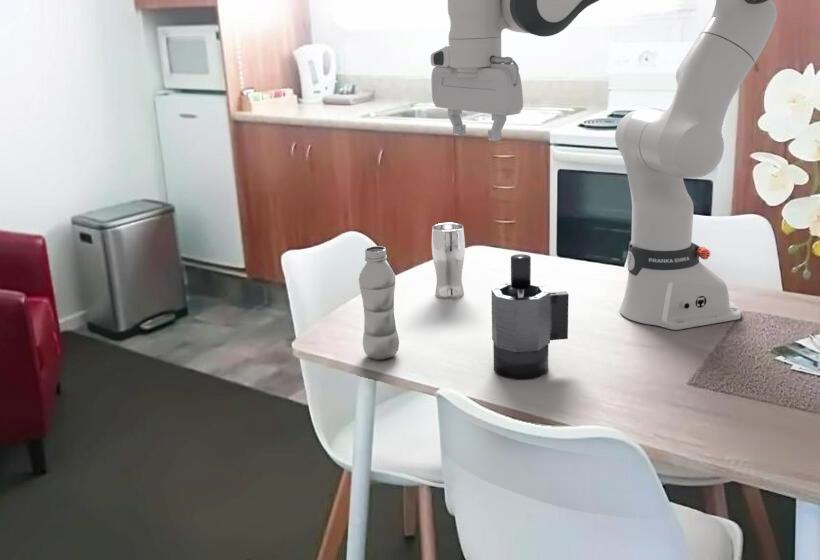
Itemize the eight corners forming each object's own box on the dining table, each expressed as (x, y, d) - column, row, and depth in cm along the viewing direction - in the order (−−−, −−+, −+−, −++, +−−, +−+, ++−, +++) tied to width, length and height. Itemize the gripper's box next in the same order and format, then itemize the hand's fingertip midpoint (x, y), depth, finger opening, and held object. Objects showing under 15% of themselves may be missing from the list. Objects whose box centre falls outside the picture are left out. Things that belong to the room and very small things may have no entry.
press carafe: (558, 353, 151) (559, 278, 146) (573, 375, 142) (575, 296, 137) (488, 359, 149) (487, 284, 145) (499, 381, 141) (499, 302, 136)
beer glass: (463, 300, 179) (461, 231, 174) (430, 299, 180) (428, 230, 175) (468, 289, 185) (466, 222, 181) (436, 288, 187) (434, 222, 182)
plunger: (531, 330, 146) (532, 251, 142) (539, 341, 142) (539, 260, 137) (502, 332, 146) (502, 253, 141) (509, 343, 141) (509, 262, 137)
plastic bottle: (405, 351, 154) (400, 245, 148) (389, 366, 149) (383, 256, 142) (373, 347, 157) (367, 242, 151) (356, 361, 151) (349, 253, 145)
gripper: (531, 55, 138) (531, 141, 142) (452, 52, 154) (454, 129, 158) (502, 58, 134) (503, 146, 139) (424, 55, 150) (427, 134, 155)
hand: (476, 137), depth 149 cm, fingers open, 8 cm apart
